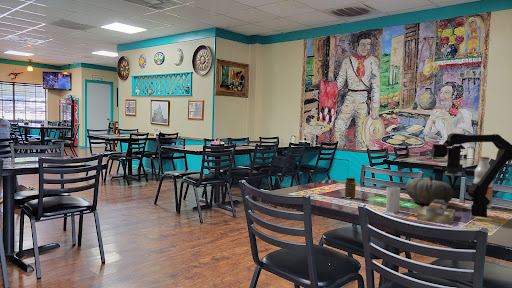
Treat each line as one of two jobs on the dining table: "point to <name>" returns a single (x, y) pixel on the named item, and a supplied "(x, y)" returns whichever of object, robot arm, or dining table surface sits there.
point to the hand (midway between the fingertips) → (452, 188)
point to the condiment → (350, 187)
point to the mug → (392, 199)
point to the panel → (436, 214)
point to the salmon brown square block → (435, 206)
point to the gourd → (428, 190)
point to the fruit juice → (480, 172)
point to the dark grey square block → (439, 201)
